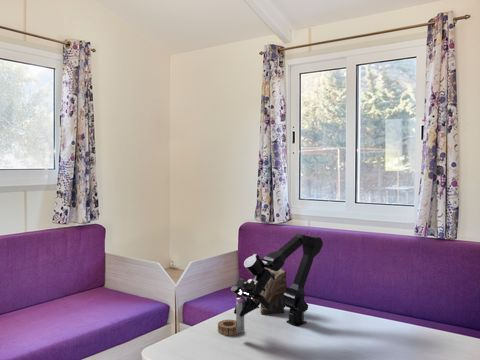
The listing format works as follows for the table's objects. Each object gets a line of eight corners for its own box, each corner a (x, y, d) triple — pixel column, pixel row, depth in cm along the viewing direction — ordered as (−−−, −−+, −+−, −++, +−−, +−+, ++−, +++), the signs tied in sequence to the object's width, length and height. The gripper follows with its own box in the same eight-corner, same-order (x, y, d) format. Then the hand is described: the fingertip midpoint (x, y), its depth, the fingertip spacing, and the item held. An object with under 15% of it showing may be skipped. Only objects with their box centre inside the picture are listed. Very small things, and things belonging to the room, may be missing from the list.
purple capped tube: (240, 328, 168) (240, 296, 167) (245, 330, 166) (246, 298, 165) (234, 330, 166) (234, 297, 165) (240, 333, 163) (240, 299, 163)
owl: (259, 305, 207) (260, 264, 206) (285, 305, 206) (286, 265, 205) (260, 314, 194) (260, 271, 193) (287, 315, 193) (288, 272, 193)
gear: (229, 324, 181) (229, 318, 181) (244, 331, 175) (244, 324, 175) (213, 330, 175) (213, 323, 175) (227, 337, 169) (228, 329, 169)
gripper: (234, 265, 174) (212, 297, 168) (263, 275, 160) (240, 310, 153) (249, 281, 179) (228, 312, 173) (279, 292, 165) (256, 326, 158)
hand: (237, 314), depth 164 cm, fingers closed on purple capped tube, 3 cm apart
